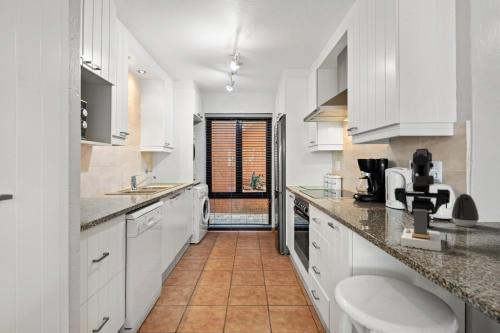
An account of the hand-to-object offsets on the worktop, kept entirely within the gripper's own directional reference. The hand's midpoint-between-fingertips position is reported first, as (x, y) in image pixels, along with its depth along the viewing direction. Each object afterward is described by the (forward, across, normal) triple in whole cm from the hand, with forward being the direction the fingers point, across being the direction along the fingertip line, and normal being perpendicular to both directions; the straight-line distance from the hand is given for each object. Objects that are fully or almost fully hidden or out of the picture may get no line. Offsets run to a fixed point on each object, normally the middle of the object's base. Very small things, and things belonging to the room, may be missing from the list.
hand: (420, 212), depth 105 cm
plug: (+12, 0, +5) cm, 12 cm away
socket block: (+9, 0, +8) cm, 11 cm away
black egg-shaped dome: (-20, +17, +36) cm, 45 cm away
